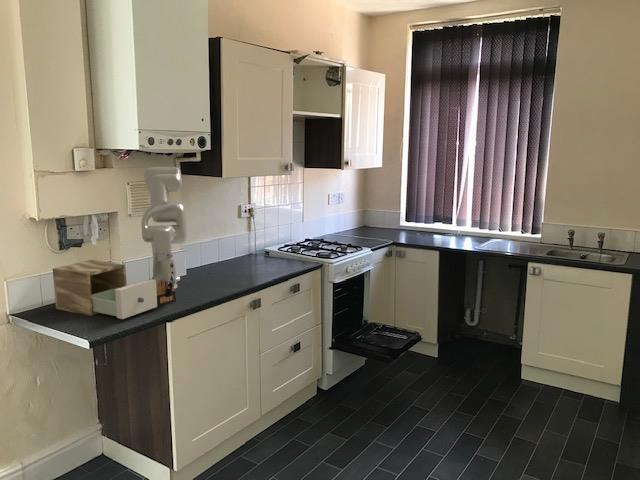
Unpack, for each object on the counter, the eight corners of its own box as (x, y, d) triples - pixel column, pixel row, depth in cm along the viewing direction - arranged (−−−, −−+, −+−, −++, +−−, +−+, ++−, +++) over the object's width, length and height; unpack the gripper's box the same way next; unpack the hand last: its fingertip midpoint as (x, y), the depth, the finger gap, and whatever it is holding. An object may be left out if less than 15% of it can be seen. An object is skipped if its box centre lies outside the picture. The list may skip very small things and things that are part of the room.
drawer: (119, 299, 245) (117, 273, 243) (159, 307, 233) (158, 280, 231) (83, 311, 228) (81, 283, 226) (124, 319, 217) (122, 290, 214)
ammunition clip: (157, 307, 238) (156, 280, 236) (154, 306, 239) (153, 280, 237) (176, 301, 247) (174, 275, 245) (173, 300, 248) (172, 275, 246)
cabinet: (94, 297, 253) (91, 259, 250) (127, 303, 243) (125, 264, 240) (56, 308, 236) (52, 268, 233) (90, 316, 226) (87, 274, 223)
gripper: (183, 256, 239) (185, 296, 242) (155, 252, 246) (157, 291, 250) (171, 259, 232) (173, 300, 235) (142, 255, 240) (145, 295, 243)
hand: (165, 295), depth 242 cm, fingers open, 4 cm apart
